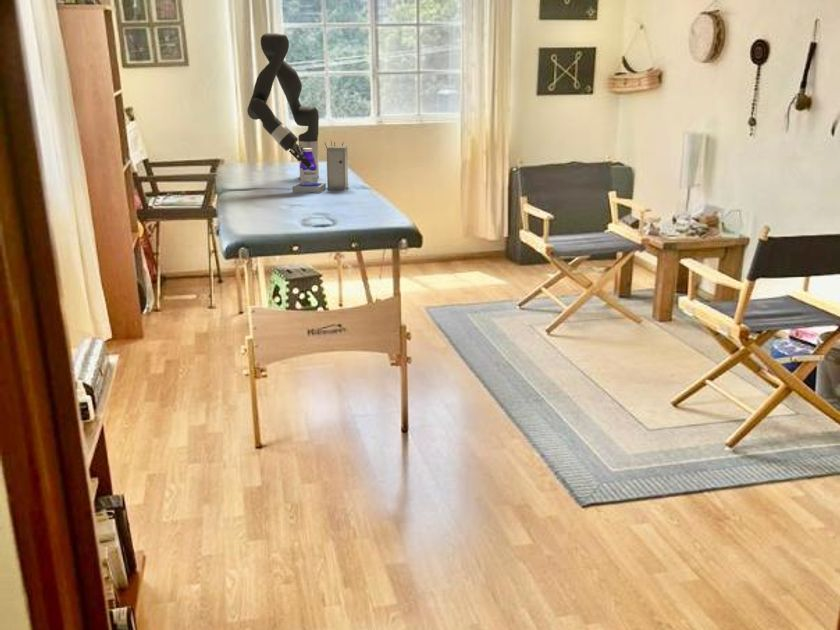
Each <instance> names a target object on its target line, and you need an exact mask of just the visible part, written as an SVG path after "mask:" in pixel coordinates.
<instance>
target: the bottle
mask: <svg viewBox="0 0 840 630" xmlns="http://www.w3.org/2000/svg"><path fill="white" fill-rule="evenodd" d="M303 155H304V157H305V158H306V159H307V160H308V161H309V162H310V163H311V166H310V167H309V168H307V167H306V166H305V165H304V164H303V163H302V162H301V164H300V167H299V180H300V182H299V183H300V184H301V186H312V187H317V183H318V177H317V166H316V163H315V162H314V159H315V158H314V157H313V154H312V148H303Z"/></svg>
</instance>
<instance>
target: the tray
mask: <svg viewBox="0 0 840 630" xmlns="http://www.w3.org/2000/svg"><path fill="white" fill-rule="evenodd" d="M326 187H327V182H317V187H312V186H301V184H300V182H297V183H296V184H294V185H292V186H291V188H292V192H291V193H304V192H321V191H322V192H324V191H325V190H327V188H326ZM324 189H325V190H324ZM322 192H321V193H322Z"/></svg>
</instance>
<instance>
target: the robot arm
mask: <svg viewBox="0 0 840 630" xmlns="http://www.w3.org/2000/svg"><path fill="white" fill-rule="evenodd" d="M260 46H261V50H262V52H263V54H264V56H265V58H266V60H267V61H268V63H267V64H266V66H265V67H263V69H262V70H261V71H260V73H258V75H257V78H256V80H255V84H254V87H253V92H252V96H251V98H250V100H249V104H248V106H247V109H246V110H247V111H246V112H247V115H248V117H249V119H252V120H255V121H256V120H260V122H261V123H262V127H263V129H264V130H265V131H266V132H267V133H268V134H269V135H270V136H271V137H272V138H273V140H274V141H275V142H276V143H277V144H278V145H279V146H280V147H282V149H283V150H284V151H286V152H289V153H290V154H291V155H292V156H293V157H294V158H295V159H296V160H297V161H298V163H299V164H298V165H299V166H298V167H299V168H300V164H301V162H302V163H303V164H304V165H305V166H306V167H307V168H309V167H310V166H311V163H310V162H309V161H308V160H307V159H306V158H305V157H304V155H303V148H312V154H313V157H314V158H315V159H314V162H315V163H316V166H317V178H319V177H320V176H319V175H320V173H319V169H320V168H319V166H320V165H319V140H318V139H319V122H320V121H319V120H320V118H319V117H320V116H319V110H318V108H317V107H316V106H303V105H302V104H301V103H300V99H299V98H300V95H301V93H302V88H303V85H302V81H301V78H300V76H299V74H298V73H297V71H296V70H295V68H294V67H292V66H291V65H290V64H289V63H287V62H286V60H285V59H286V56H287V54H288V52H289V48H290V41H289V38H288V36H287V35H286V34H285V33H279V32H277V33H274V32H271V33H270V32H268V33H267V32H266V33H263V34H262V35H261V37H260ZM276 78H277V81H278V83H279V85H280V87H281V89H282V91H283V94H284V96H285V98H286V100H287V103H288V106H289V107H290V111H291V114H292V119H293V120H294V122H295V123H296V125H297V126H300V127H307V130H306V131H305V132H303V133H301V134H299V135H298V137H297V135H295V134H294V133H293V132H292V130H290V129H289V127H288V126H286V125H285V124H284V123H282V121H281V120H280V119H279V118H278V117H276V115H275V114H274V112H273V111H272V109H271V108H270V107H269V104H267V102H268V99H269V96H271V92H272V88H273V85H274V82H275V79H276Z"/></svg>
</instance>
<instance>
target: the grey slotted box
mask: <svg viewBox="0 0 840 630" xmlns="http://www.w3.org/2000/svg"><path fill="white" fill-rule="evenodd" d="M348 167H349V166H348V146H336V145H335V146H334V145H330V146H327V148H326V172H327V173H326V176H327V178H326V179H327V181H326V187H327V190H343V189H346V188H347V187H348V188H349V177H348V176H349V174H348V172H349V169H348ZM348 188H347V189H348ZM347 189H346V190H347Z"/></svg>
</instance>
